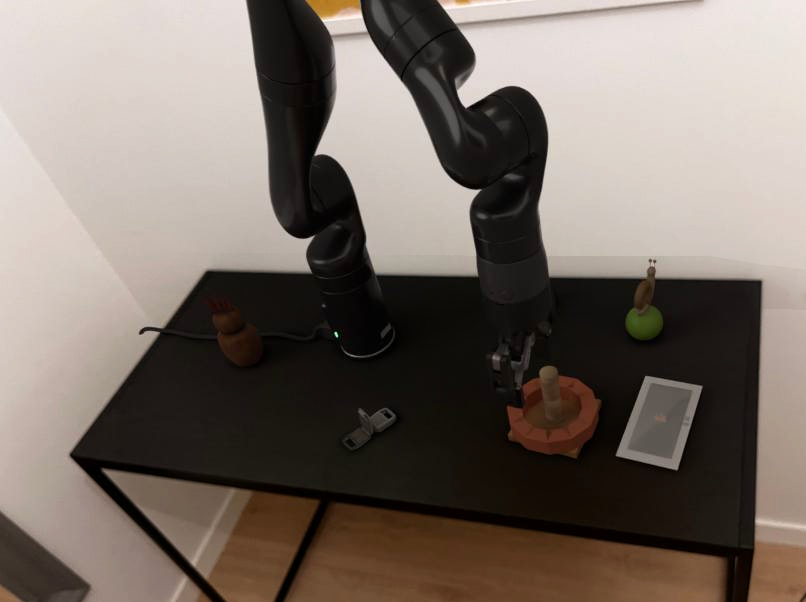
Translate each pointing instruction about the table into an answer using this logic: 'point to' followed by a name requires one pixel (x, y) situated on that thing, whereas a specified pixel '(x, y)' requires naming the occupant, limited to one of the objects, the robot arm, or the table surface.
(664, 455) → the touchpad
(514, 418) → the ring
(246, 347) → the wooden figurine
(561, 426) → the stand
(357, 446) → the strap clip
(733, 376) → the table surface
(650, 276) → the snail figurine
